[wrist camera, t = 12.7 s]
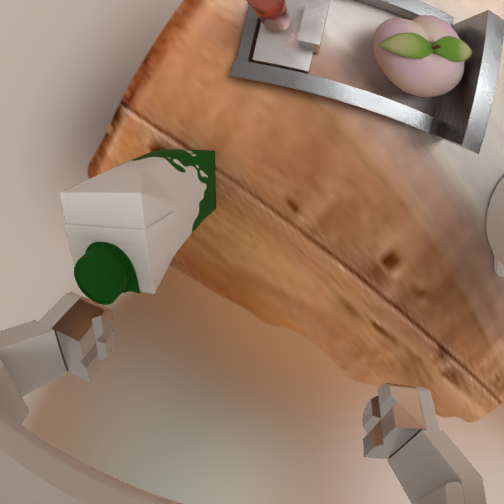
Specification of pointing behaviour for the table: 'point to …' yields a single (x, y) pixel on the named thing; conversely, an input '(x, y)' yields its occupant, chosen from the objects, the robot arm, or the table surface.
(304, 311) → the table surface
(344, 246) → the table surface
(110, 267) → the milk carton
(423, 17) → the decorative fruit
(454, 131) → the press base
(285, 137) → the table surface
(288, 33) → the handle
